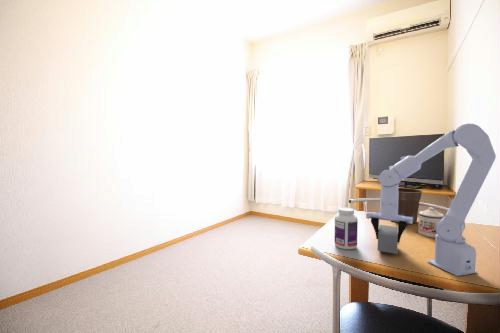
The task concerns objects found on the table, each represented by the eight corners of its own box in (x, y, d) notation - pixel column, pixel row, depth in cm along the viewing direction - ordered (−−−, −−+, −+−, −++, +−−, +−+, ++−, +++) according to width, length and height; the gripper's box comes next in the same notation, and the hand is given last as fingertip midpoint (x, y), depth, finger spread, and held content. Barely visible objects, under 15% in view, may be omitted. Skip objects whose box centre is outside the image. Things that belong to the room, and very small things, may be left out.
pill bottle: (355, 243, 98) (356, 207, 97) (358, 251, 90) (359, 212, 89) (333, 241, 100) (334, 206, 99) (334, 249, 92) (335, 210, 91)
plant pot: (381, 215, 139) (382, 186, 137) (415, 217, 134) (416, 187, 132) (387, 223, 123) (389, 191, 122) (426, 227, 118) (427, 193, 117)
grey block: (397, 253, 85) (397, 236, 84) (377, 250, 88) (378, 233, 87) (396, 242, 94) (397, 226, 94) (379, 239, 97) (379, 224, 97)
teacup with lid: (414, 233, 109) (415, 207, 108) (422, 229, 114) (423, 204, 114) (448, 241, 99) (449, 212, 98) (455, 236, 105) (456, 209, 104)
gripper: (412, 203, 90) (410, 240, 91) (367, 199, 97) (366, 233, 98) (413, 207, 84) (412, 246, 85) (366, 202, 91) (365, 239, 92)
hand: (387, 240), depth 91 cm, fingers closed on grey block, 6 cm apart
